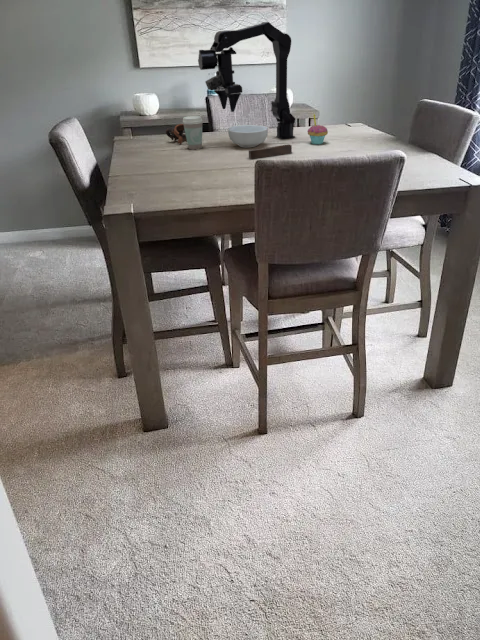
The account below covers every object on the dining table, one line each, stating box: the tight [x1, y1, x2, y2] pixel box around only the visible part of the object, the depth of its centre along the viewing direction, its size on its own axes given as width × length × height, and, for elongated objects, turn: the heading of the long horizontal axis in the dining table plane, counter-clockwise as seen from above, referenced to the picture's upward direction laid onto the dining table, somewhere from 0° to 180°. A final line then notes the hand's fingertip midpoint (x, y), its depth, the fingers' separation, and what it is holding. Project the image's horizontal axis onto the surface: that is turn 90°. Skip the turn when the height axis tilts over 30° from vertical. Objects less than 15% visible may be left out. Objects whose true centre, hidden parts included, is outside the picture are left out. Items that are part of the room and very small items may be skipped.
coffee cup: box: [182, 115, 204, 150], centre depth 208 cm, size 8×9×12 cm
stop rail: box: [248, 144, 293, 160], centre depth 195 cm, size 18×2×3 cm, turn 116°
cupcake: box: [307, 112, 329, 145], centre depth 208 cm, size 9×8×12 cm
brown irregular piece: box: [165, 123, 187, 145], centre depth 220 cm, size 12×10×8 cm
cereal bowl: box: [227, 124, 269, 149], centre depth 210 cm, size 17×17×7 cm
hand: (228, 110), depth 208 cm, fingers open, 9 cm apart
